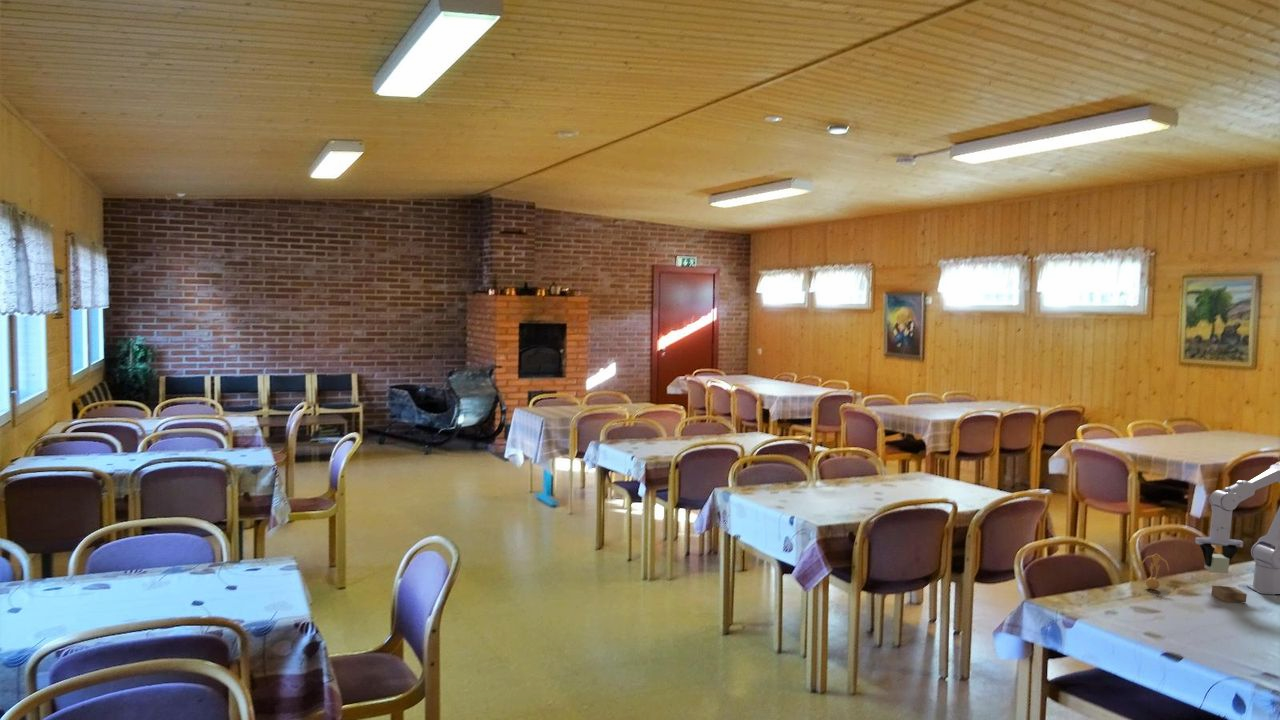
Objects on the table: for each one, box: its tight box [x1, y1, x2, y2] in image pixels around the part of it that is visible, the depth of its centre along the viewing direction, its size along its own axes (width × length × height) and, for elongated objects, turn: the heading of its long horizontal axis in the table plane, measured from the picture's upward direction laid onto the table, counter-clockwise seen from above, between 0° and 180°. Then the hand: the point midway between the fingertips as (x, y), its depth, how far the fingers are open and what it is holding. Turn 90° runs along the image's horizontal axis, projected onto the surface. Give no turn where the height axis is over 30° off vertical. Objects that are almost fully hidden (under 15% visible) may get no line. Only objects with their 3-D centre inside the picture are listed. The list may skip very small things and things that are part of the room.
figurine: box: [1140, 552, 1170, 591], centre depth 307 cm, size 8×6×12 cm
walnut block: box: [1211, 585, 1248, 603], centre depth 300 cm, size 7×7×3 cm
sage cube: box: [1204, 553, 1230, 574], centre depth 308 cm, size 5×5×5 cm
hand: (1216, 566), depth 308 cm, fingers closed on sage cube, 5 cm apart
